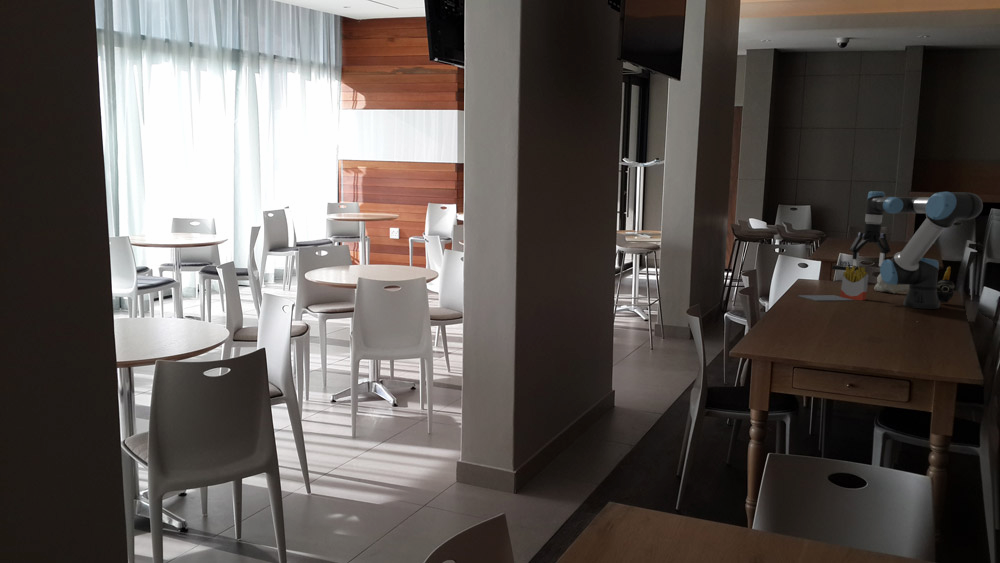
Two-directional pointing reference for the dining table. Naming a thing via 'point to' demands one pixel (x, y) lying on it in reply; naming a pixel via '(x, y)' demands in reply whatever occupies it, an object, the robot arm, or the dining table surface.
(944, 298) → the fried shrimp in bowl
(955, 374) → the dining table surface
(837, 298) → the mat
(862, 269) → the french fries container
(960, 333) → the dining table surface
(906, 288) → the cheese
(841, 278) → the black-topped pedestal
